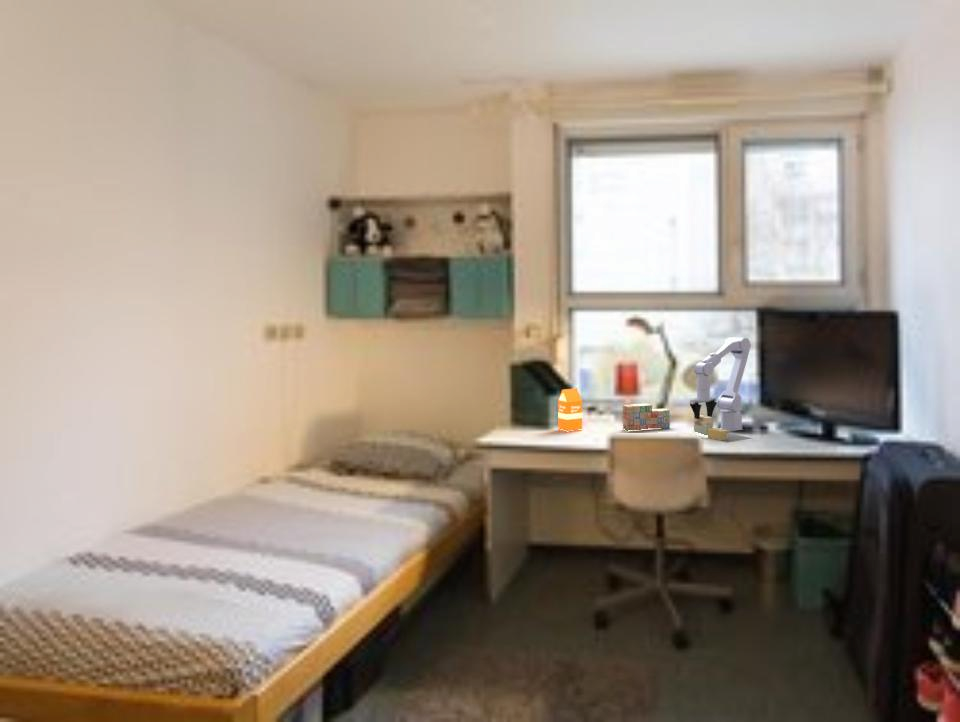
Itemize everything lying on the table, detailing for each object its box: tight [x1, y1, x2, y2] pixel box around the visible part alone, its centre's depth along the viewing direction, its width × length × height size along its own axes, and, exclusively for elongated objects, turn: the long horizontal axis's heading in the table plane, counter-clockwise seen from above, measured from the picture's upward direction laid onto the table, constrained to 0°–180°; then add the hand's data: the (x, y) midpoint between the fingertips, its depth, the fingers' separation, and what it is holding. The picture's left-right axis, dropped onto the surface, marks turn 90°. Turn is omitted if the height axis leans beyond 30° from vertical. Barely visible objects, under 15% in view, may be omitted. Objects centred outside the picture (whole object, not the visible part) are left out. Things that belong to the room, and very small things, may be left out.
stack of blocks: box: [622, 402, 671, 431], centre depth 423 cm, size 21×6×12 cm, turn 102°
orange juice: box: [557, 387, 583, 431], centre depth 425 cm, size 8×9×20 cm
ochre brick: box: [707, 427, 728, 441], centre depth 395 cm, size 8×4×4 cm, turn 30°
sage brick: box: [693, 424, 714, 435], centre depth 407 cm, size 8×4×4 cm, turn 30°
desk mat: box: [708, 432, 754, 443], centre depth 401 cm, size 16×27×1 cm, turn 29°
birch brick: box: [693, 414, 714, 427], centre depth 406 cm, size 8×4×4 cm, turn 30°
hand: (703, 417), depth 406 cm, fingers open, 7 cm apart
